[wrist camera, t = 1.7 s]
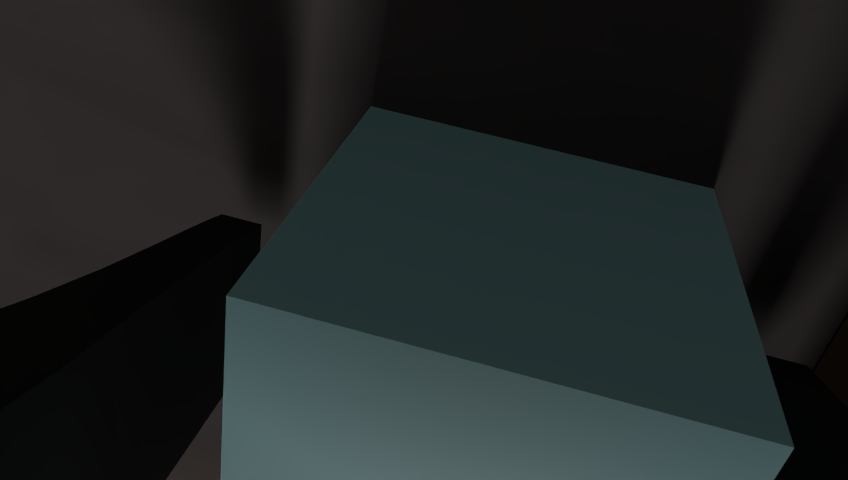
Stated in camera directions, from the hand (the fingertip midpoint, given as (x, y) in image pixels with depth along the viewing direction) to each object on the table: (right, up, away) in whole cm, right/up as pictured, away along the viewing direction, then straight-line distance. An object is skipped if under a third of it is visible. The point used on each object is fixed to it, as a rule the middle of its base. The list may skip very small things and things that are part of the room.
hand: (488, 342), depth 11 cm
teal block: (0, +1, +1) cm, 2 cm away
